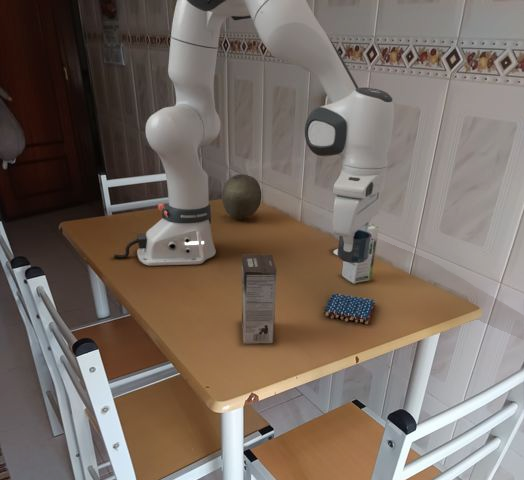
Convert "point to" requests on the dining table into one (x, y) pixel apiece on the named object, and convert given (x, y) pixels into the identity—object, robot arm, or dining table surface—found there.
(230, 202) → the cantaloupe
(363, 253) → the cup
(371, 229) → the syrup box
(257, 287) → the coffee box
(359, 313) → the woven mat
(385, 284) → the dining table surface
